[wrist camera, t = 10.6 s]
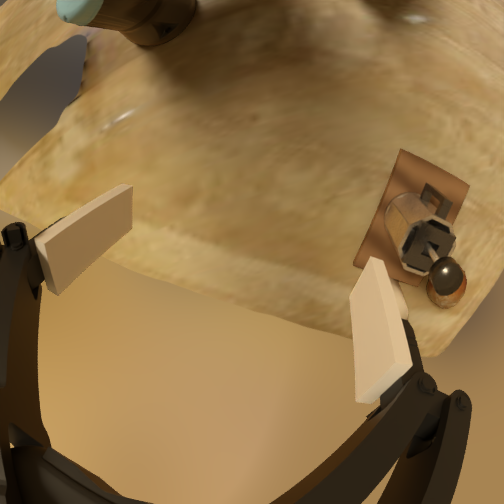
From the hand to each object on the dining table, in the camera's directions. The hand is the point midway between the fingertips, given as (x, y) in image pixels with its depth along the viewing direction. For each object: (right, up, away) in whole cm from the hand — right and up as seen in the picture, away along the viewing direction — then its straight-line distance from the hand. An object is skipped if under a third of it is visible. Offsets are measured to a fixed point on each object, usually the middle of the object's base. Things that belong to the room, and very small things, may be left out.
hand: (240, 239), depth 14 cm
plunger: (+28, +5, +28) cm, 40 cm away
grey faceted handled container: (+29, +7, +29) cm, 41 cm away
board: (+31, +5, +31) cm, 44 cm away
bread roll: (+43, -7, +35) cm, 56 cm away
